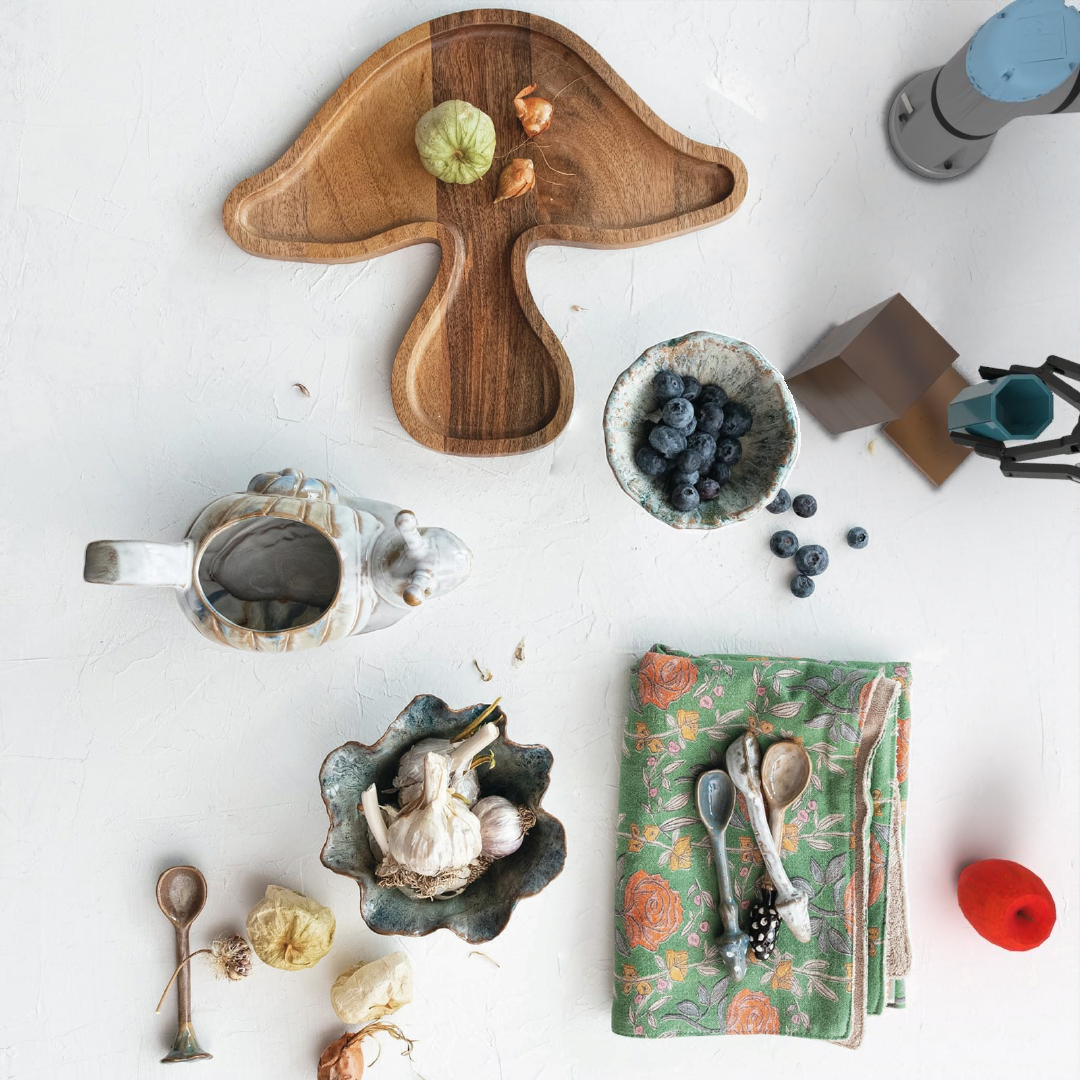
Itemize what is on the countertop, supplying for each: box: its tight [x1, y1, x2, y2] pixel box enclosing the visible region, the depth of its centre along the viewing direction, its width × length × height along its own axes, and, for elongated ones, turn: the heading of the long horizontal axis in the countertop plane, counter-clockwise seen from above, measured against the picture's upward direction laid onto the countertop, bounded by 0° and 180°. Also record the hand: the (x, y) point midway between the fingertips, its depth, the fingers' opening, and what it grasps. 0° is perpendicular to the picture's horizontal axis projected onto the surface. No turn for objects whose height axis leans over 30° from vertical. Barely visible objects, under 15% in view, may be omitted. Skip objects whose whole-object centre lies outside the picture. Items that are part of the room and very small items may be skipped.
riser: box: [783, 292, 961, 436], centre depth 115 cm, size 11×11×20 cm
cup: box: [948, 374, 1055, 447], centre depth 112 cm, size 8×8×10 cm
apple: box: [956, 858, 1057, 953], centre depth 121 cm, size 12×12×13 cm
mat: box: [879, 364, 975, 488], centre depth 125 cm, size 14×12×1 cm
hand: (967, 404), depth 114 cm, fingers closed on cup, 9 cm apart
